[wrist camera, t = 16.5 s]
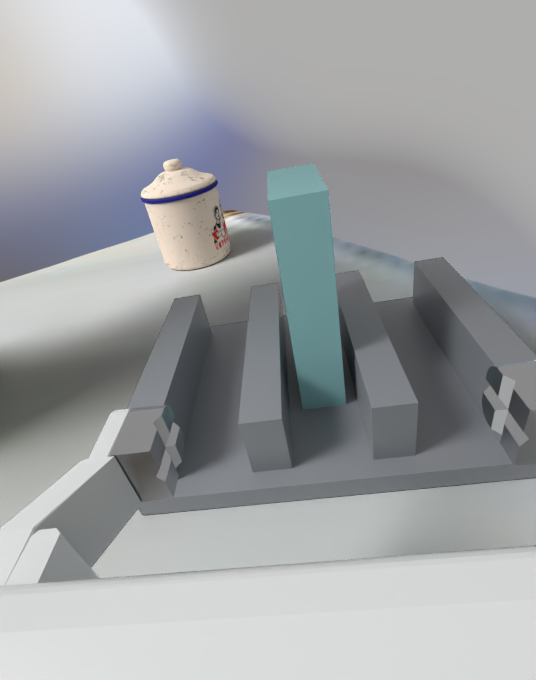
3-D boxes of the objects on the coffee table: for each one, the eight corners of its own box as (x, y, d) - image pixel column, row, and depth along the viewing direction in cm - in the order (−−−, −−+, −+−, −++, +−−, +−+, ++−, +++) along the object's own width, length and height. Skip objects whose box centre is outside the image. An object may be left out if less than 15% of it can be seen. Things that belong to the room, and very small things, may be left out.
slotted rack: (142, 515, 20) (106, 455, 17) (193, 341, 33) (177, 292, 31) (553, 475, 18) (581, 401, 15) (434, 306, 31) (438, 252, 29)
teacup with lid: (236, 262, 47) (212, 157, 40) (161, 278, 46) (125, 176, 40) (228, 232, 57) (208, 144, 50) (167, 246, 56) (139, 159, 50)
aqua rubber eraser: (302, 409, 23) (267, 200, 16) (296, 350, 28) (267, 171, 21) (346, 404, 22) (328, 189, 16) (331, 345, 27) (313, 163, 21)
